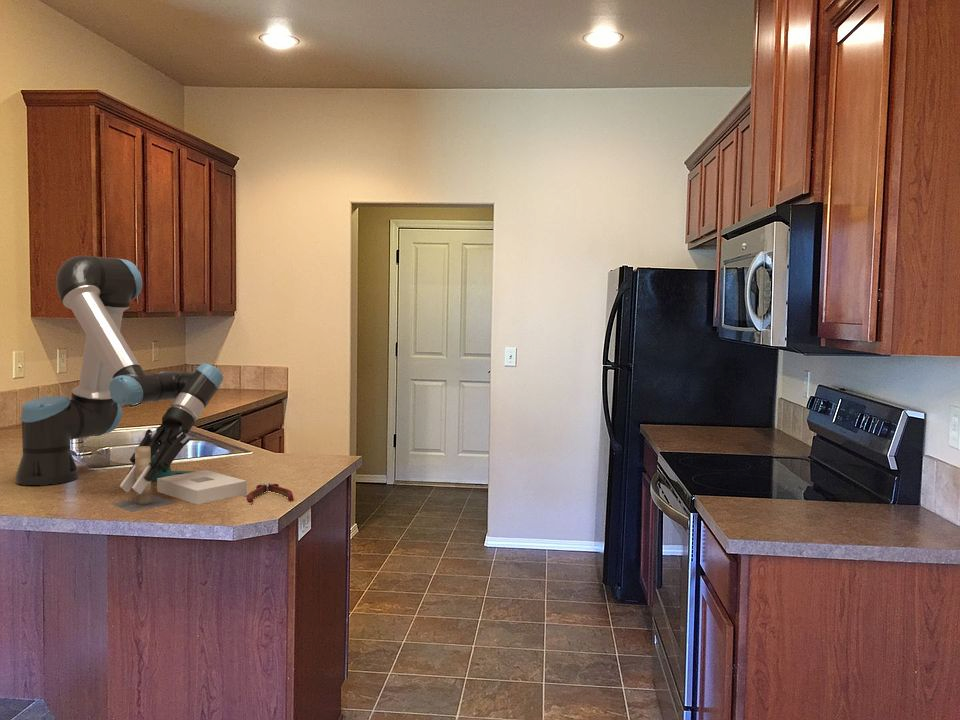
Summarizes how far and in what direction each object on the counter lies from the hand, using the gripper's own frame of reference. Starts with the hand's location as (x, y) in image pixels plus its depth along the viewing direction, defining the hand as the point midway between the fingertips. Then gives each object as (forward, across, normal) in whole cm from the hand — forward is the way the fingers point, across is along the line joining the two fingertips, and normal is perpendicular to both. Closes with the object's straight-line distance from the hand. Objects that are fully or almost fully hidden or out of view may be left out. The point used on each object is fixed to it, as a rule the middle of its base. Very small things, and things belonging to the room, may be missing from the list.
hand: (130, 489), depth 173 cm
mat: (+1, 0, -6) cm, 6 cm away
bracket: (-15, +15, -22) cm, 31 cm away
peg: (0, 0, -6) cm, 6 cm away
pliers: (-15, -22, -23) cm, 35 cm away
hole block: (-9, -5, -16) cm, 19 cm away
